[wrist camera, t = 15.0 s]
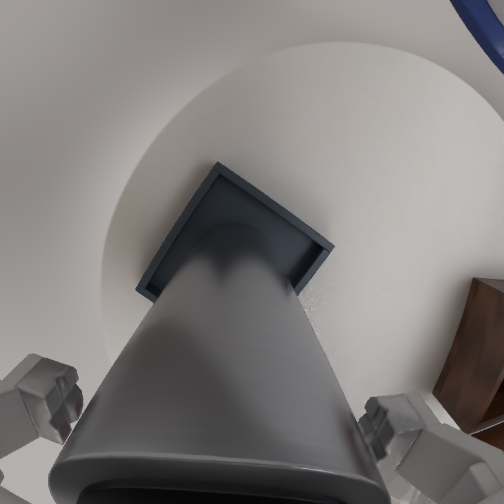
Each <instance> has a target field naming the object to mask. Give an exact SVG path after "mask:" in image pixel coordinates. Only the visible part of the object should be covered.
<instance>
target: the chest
mask: <svg viewBox="0 0 504 504" xmlns="http://www.w3.org/2000/svg"><path fill="white" fill-rule="evenodd" d="M432 394H433V395H434V396H435V398H436V399H437V400H438V401H439V403H440V404H441V405H442V406H443V408H444V409H445V410H446V411H447V412H448V414H449V415H450V416H451V417H452V419H453V420H454V421H455V422H456V424H457V425H458V426H459V428H460V429H461V430H462V431H463V432H464V433H466V434H468V435H469V434H471V433H474V432H477V431H479V430H482V429H485V428H487V427H489V426H492V425H494V424H497V423H499V422H501V421H504V280H494V279H483V278H473V281H472V285H471V289H470V293H469V296H468V300H467V303H466V307H465V310H464V313H463V316H462V320H461V323H460V326H459V329H458V332H457V334H456V337H455V340H454V343H453V345H452V348H451V351H450V353H449V356H448V358H447V361H446V363H445V366H444V368H443V370H442V373H441V375H440V377H439V380H438V382H437V384H436V386H435V388H434V391H433V393H432Z"/></svg>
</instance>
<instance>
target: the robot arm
mask: <svg viewBox="0 0 504 504" xmlns="http://www.w3.org/2000/svg"><path fill="white" fill-rule="evenodd" d="M487 2H488V3H489V5H490V7H491V8H492V10H493V12H494V13H495V15H496V16H497V18H498V19H499V21H500V22H501V23H502V25H503V26H504V0H487ZM78 379H79V378H78V374H77V370H76V369H75V368H74V367H72V366H69V365H66V364H63V363H60V362H57V361H54V360H51V359H48V358H44V357H42V356H39V355H36V354H29V355H28V356H27V357H26V358H25V359H24V360H23V361H22V362H20V363H19V364H18V365H17V366H16V367H15V368H14V369H13V370H12V371H11V372H10V373H9V374H8V375H7V376H6V377H5V378H4V379H3V380H2V381H1V380H0V459H1V458H3V457H5V456H7V455H8V454H10V453H12V452H14V451H16V450H18V449H19V448H21V447H23V446H25V445H26V444H28V443H30V442H32V441H33V440H35V439H37V438H39V436H40V437H43V438H45V439H48V440H50V441H53V442H56V443H58V444H61V445H63V444H64V442H65V441H66V439H67V437H68V436H69V434H70V432H71V430H72V429H71V425H70V423H72V422H74V421H77V420H78V419H79V417H80V415H81V413H82V408H83V395H82V391H81V389H80V388H79V387H78V386H77V385H76V382H77V381H78ZM364 408H365V410H366V412H367V413H366V414H364V415H363V416H362V417H361V418H360V419H359V421H358V425H359V427H360V429H361V432H362V434H363V436H364V438H365V440H366V443H367V445H368V447H369V449H370V452H371V454H372V456H373V458H374V460H375V463H376V465H377V467H378V469H379V472H380V473H384V472H390V471H395V470H396V471H395V472H396V473H397V474H399V475H400V476H401V477H402V478H404V479H405V480H406V481H407V482H409V483H410V484H411V485H412V486H414V487H415V488H416V489H418V490H419V491H420V492H421V493H423V494H424V495H425V496H427V497H428V498H429V499H431V500H432V501H433V502H435V503H436V504H504V452H503V451H502V450H501V449H498V448H496V447H494V446H492V445H489V444H487V443H485V442H483V441H481V440H479V439H476V438H474V437H472V436H470V435H468V434H466V433H464V432H462V431H459V430H457V429H455V428H453V427H451V426H449V425H447V424H441V423H440V422H439V420H438V419H437V418H436V416H435V415H434V414H433V412H432V411H431V409H430V408H429V407H428V405H427V404H426V403H425V401H424V400H423V399H422V397H421V396H420V395H419V394H418V393H416V392H409V393H402V394H396V395H387V396H376V397H370V399H369V400H368V401H367V403H366V405H365V407H364ZM3 479H4V475H3V472H2V471H1V470H0V484H1V482H2V480H3ZM0 504H31V503H29V502H27V501H26V500H24V499H22V498H20V497H19V496H16V495H15V494H13V493H12V492H10V491H8V490H7V489H5V488H3V487H2V486H0Z"/></svg>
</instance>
